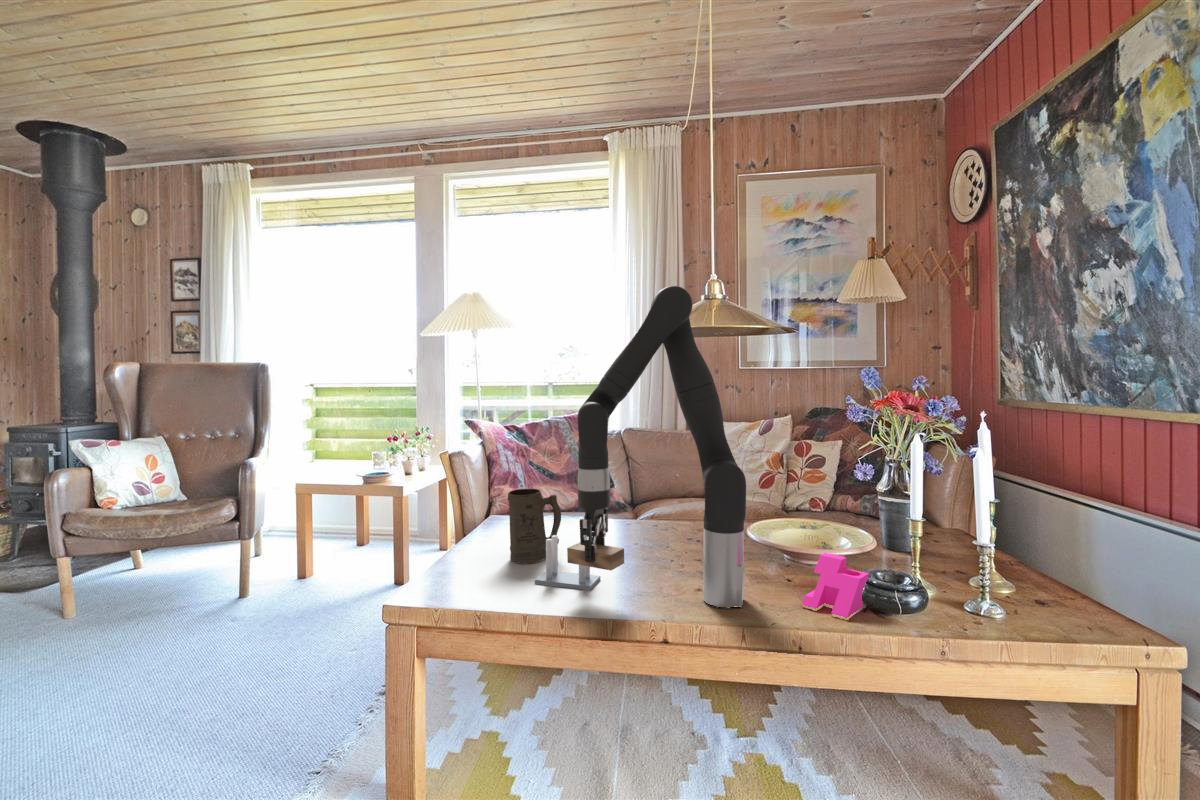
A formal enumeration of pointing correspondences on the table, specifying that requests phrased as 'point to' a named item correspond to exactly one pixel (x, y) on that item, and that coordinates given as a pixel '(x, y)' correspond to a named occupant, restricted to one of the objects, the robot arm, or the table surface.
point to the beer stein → (530, 524)
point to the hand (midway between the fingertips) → (595, 557)
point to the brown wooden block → (597, 556)
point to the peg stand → (564, 578)
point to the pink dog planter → (837, 586)
